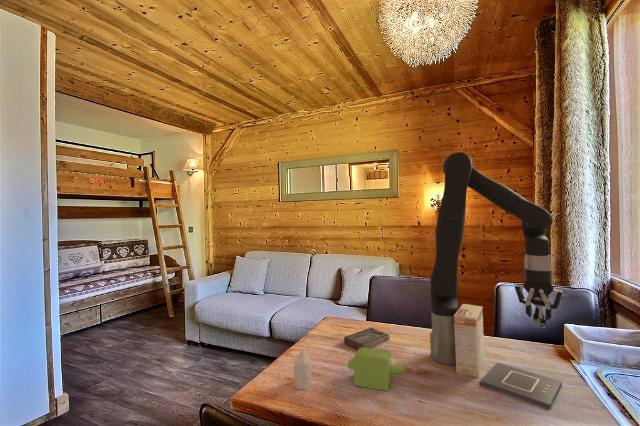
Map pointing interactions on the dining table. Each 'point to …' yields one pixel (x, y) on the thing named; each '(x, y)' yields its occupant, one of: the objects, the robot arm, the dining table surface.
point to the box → (366, 338)
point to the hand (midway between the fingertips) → (538, 317)
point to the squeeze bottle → (302, 371)
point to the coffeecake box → (469, 340)
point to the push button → (538, 312)
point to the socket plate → (522, 384)
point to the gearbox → (373, 368)
